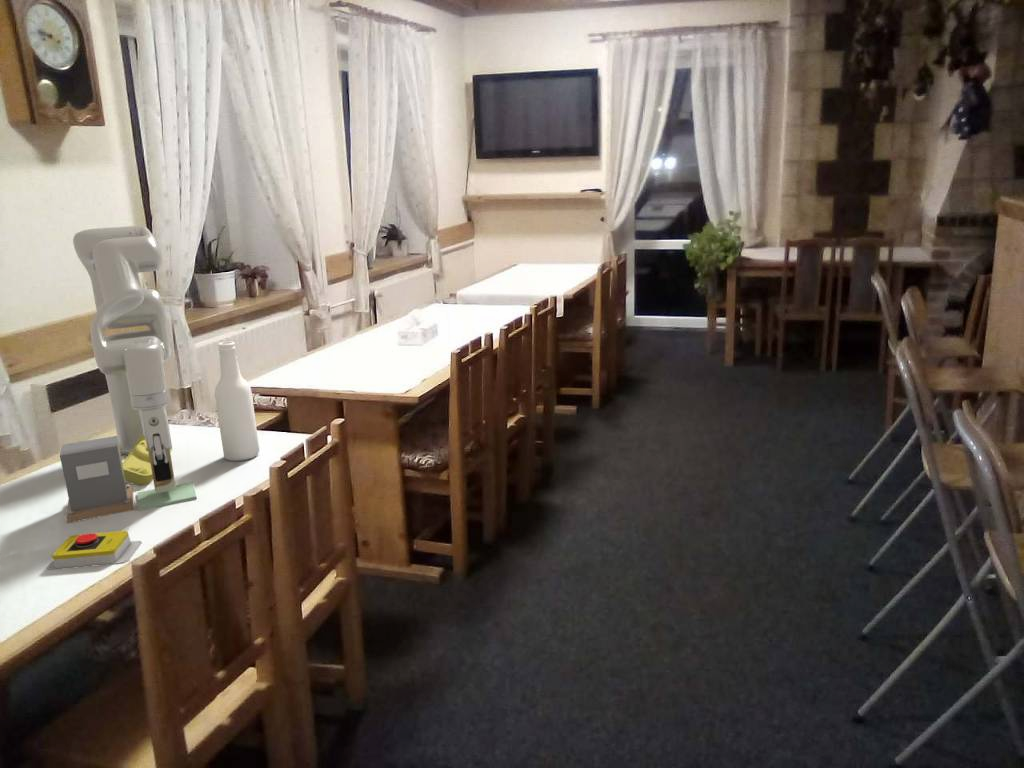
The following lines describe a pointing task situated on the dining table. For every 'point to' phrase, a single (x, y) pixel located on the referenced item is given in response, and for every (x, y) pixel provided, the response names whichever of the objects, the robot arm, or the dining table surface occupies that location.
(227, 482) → the dining table surface
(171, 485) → the skincare box
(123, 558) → the emergency button
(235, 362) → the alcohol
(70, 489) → the mounted unit
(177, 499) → the mat
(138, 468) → the plastic component
